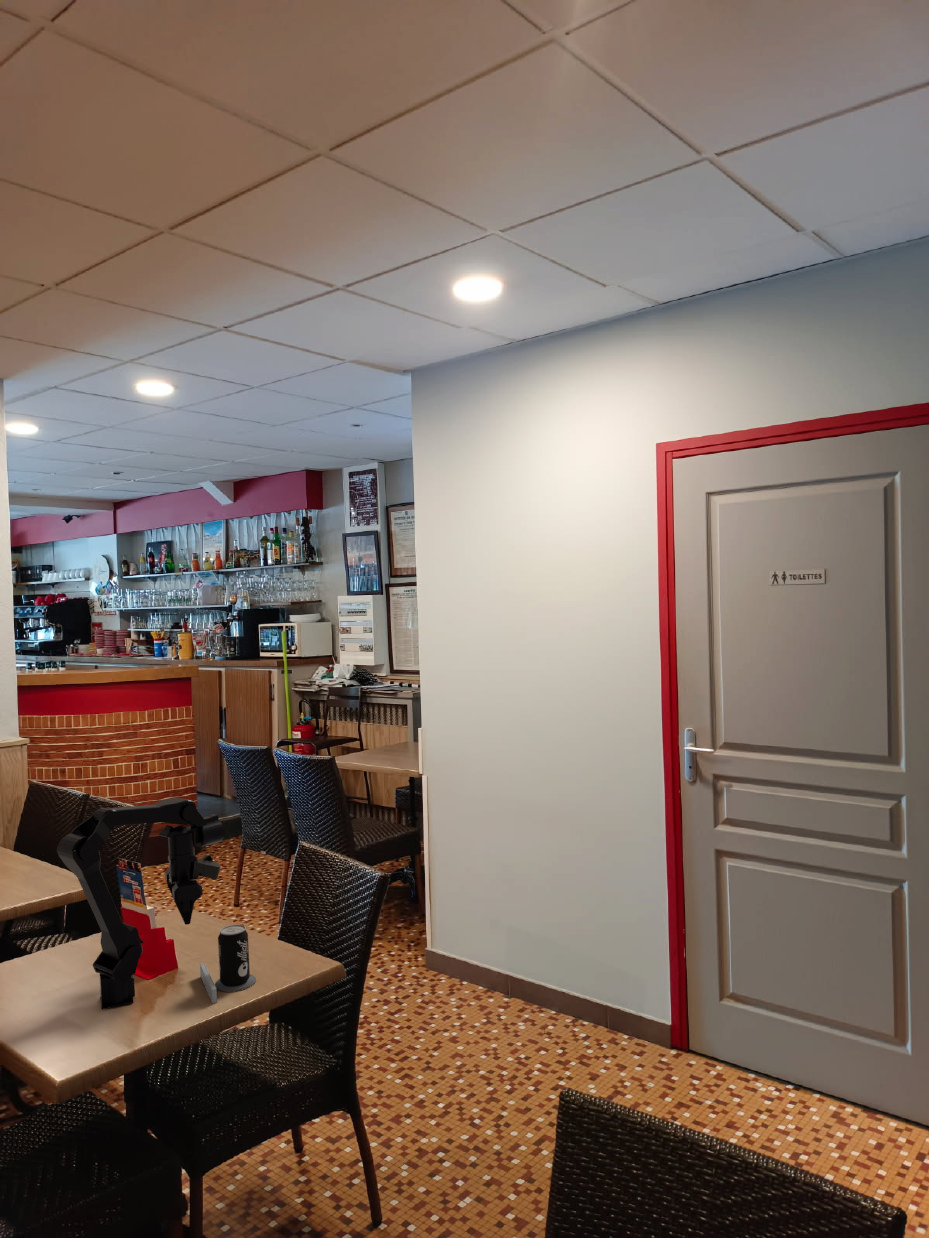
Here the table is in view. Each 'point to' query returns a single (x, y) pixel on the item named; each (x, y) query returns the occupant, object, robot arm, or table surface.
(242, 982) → the beverage can
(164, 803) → the robot arm
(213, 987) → the low wall
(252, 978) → the coaster mat
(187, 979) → the table surface
